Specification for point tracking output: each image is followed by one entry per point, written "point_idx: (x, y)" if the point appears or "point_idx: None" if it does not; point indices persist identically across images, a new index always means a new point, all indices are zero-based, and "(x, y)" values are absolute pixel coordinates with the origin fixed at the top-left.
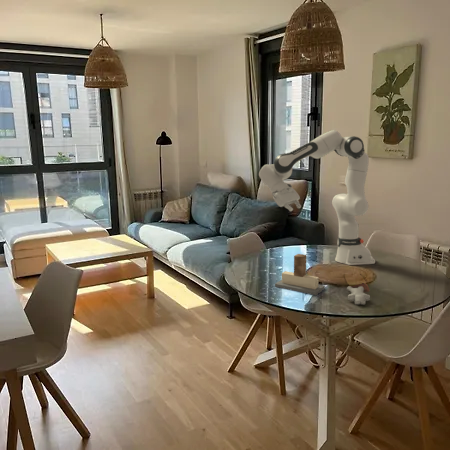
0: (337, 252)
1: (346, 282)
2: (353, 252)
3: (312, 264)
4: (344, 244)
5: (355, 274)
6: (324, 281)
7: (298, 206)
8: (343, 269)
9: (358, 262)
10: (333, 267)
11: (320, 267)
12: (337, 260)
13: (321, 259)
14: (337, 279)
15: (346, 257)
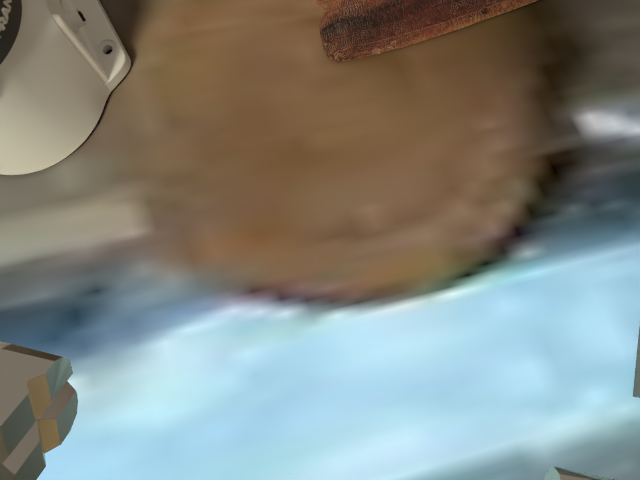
0: (12, 132)
1: (483, 21)
2: (53, 3)
3: (180, 299)
4: (15, 32)
5: (310, 2)
6: (521, 141)
7: (37, 418)
8: (231, 83)
9: (91, 13)
10: (208, 149)
11: (235, 230)
12: (70, 145)
13: (39, 266)
14: (448, 78)
15: (89, 65)
